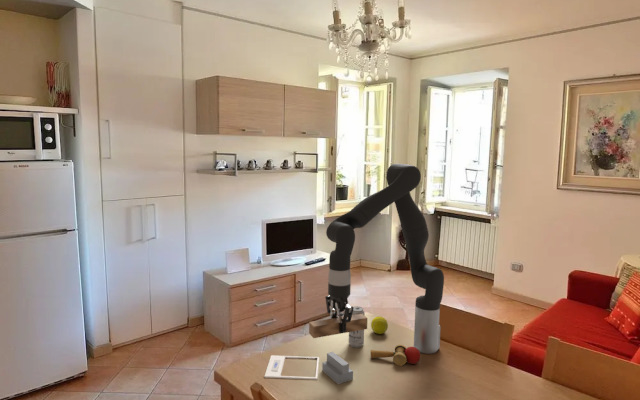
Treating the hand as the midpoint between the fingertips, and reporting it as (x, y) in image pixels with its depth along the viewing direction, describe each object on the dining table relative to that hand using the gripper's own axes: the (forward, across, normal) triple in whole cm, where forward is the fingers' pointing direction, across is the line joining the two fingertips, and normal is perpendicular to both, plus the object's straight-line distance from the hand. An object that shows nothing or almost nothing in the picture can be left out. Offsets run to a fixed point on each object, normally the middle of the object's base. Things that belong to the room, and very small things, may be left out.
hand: (338, 329), depth 145 cm
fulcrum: (+16, 0, 0) cm, 16 cm away
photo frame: (+17, +12, +11) cm, 24 cm away
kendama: (+17, -2, -24) cm, 29 cm away
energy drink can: (+17, +15, -19) cm, 29 cm away
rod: (0, 0, 0) cm, 1 cm away
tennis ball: (+17, +19, -34) cm, 42 cm away
